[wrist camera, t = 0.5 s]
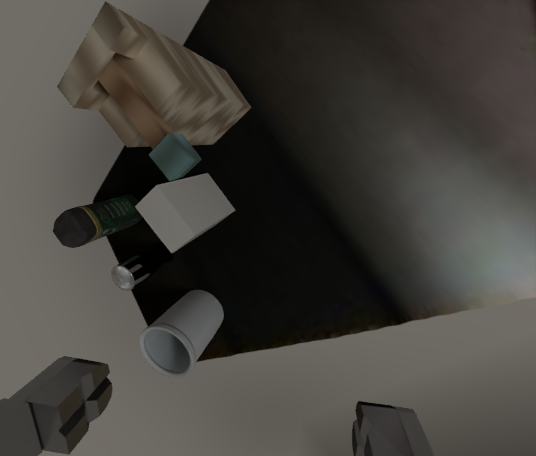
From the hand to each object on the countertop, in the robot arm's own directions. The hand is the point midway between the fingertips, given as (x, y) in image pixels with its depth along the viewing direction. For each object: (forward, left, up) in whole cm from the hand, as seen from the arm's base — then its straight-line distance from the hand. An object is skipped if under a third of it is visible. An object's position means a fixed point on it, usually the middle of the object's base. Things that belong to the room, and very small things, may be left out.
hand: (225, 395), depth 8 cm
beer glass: (+49, -9, -50) cm, 70 cm away
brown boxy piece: (+11, -26, -50) cm, 57 cm away
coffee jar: (+49, -24, -50) cm, 74 cm away
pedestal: (+26, -12, -50) cm, 57 cm away
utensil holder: (+51, +11, -50) cm, 72 cm away
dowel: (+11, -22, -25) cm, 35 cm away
